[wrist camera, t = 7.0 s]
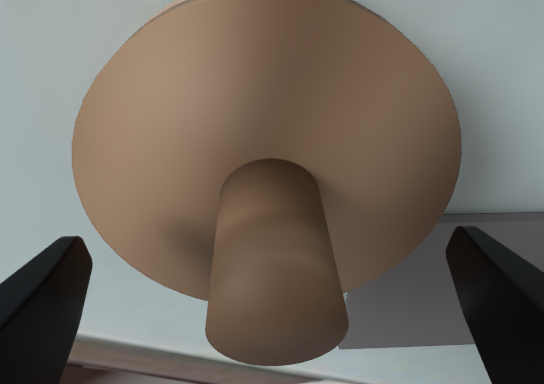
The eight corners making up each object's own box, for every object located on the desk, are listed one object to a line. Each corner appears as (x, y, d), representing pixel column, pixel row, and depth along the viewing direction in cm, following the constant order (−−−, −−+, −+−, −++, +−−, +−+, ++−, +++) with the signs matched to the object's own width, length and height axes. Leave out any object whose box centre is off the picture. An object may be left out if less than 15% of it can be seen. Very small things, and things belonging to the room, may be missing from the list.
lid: (505, -22, 8) (747, 57, 4) (402, 279, 14) (457, 420, 11) (16, -13, 8) (-227, 82, 4) (136, 290, 14) (93, 438, 10)
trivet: (595, 210, 19) (604, 218, 18) (502, 334, 26) (507, 342, 26) (364, 217, 18) (367, 225, 18) (337, 341, 26) (339, 349, 26)
